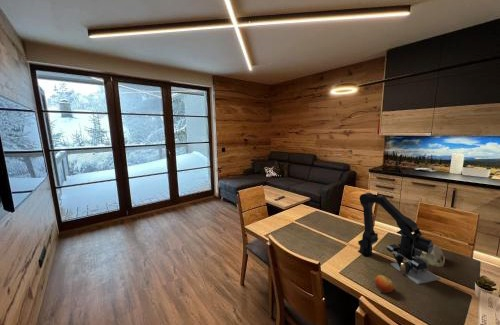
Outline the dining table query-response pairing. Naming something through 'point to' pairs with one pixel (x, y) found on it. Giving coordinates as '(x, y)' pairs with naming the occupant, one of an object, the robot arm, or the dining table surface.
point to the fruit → (384, 284)
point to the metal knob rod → (403, 267)
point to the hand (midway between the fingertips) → (403, 270)
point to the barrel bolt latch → (418, 273)
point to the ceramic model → (434, 257)
